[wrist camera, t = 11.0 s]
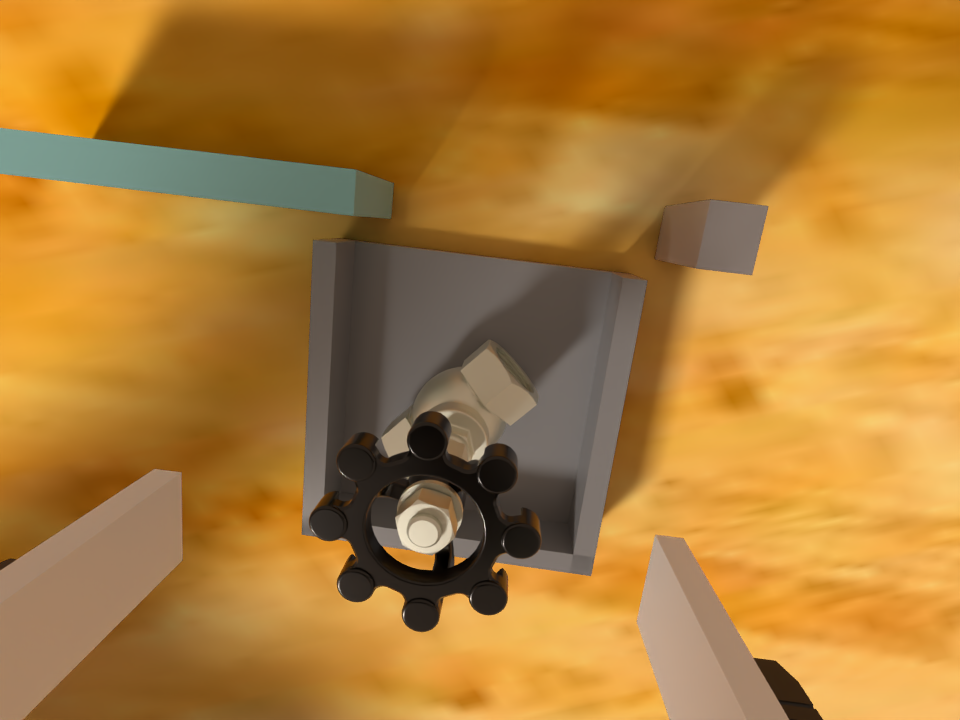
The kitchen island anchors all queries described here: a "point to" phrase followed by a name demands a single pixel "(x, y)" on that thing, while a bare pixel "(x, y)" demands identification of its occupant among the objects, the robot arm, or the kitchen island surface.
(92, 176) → the gate
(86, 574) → the robot arm
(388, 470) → the valve
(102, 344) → the kitchen island surface
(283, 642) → the kitchen island surface
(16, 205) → the kitchen island surface
